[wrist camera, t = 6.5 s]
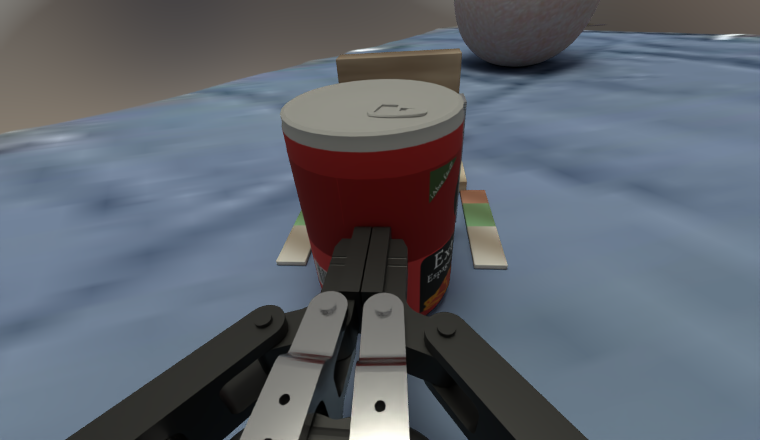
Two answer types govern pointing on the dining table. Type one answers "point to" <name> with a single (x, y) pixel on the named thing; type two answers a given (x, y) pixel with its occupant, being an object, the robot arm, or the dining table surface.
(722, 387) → the dining table surface
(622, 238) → the dining table surface
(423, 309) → the canned food
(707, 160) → the dining table surface
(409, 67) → the wooden stand
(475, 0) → the plant pot
